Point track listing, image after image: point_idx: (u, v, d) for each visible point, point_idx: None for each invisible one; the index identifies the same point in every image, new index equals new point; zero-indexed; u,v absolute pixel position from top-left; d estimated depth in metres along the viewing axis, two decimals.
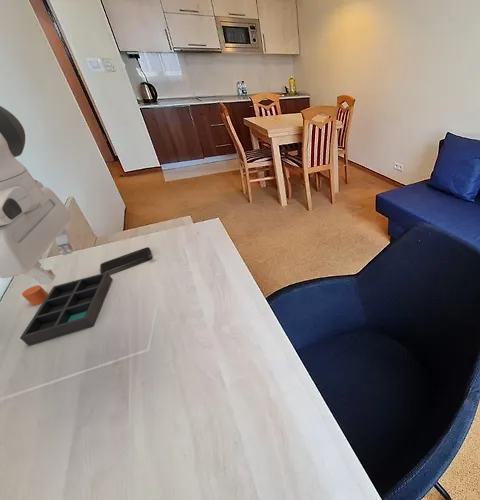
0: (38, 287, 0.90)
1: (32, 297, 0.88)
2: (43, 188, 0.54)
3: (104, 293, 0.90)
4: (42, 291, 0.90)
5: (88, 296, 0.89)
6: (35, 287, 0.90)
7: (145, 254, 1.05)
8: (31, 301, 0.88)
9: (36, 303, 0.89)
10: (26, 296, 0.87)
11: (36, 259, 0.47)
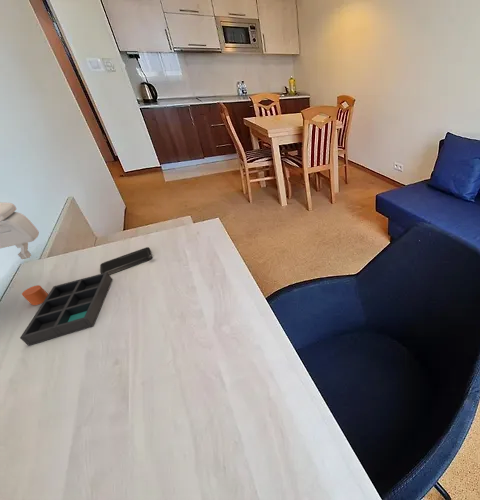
0: (38, 287, 0.90)
1: (32, 297, 0.88)
2: None
3: (104, 293, 0.90)
4: (42, 291, 0.90)
5: (88, 296, 0.89)
6: (35, 287, 0.90)
7: (145, 254, 1.05)
8: (31, 301, 0.88)
9: (36, 303, 0.89)
10: (26, 296, 0.87)
11: None
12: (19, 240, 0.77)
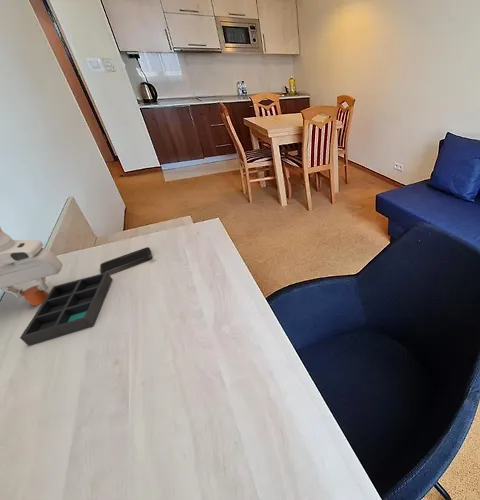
0: None
1: (32, 297, 0.88)
2: None
3: (104, 293, 0.90)
4: (42, 291, 0.90)
5: (88, 296, 0.89)
6: (35, 287, 0.90)
7: (145, 254, 1.05)
8: (31, 301, 0.88)
9: (36, 303, 0.89)
10: (26, 296, 0.87)
11: None
12: (46, 273, 0.86)
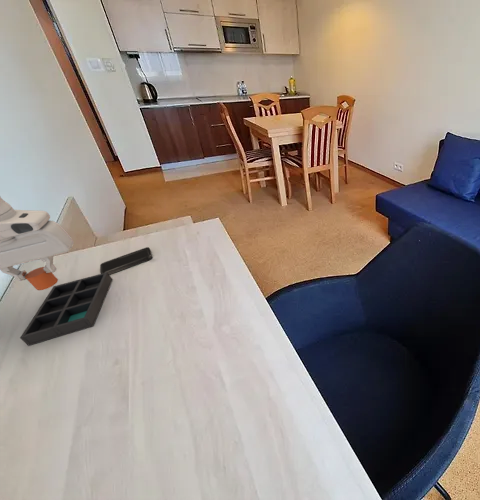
0: None
1: (38, 280, 0.73)
2: None
3: (104, 293, 0.90)
4: (49, 273, 0.75)
5: (88, 296, 0.89)
6: (41, 269, 0.75)
7: (145, 254, 1.05)
8: (36, 285, 0.73)
9: (42, 288, 0.74)
10: (30, 279, 0.72)
11: None
12: (54, 251, 0.71)
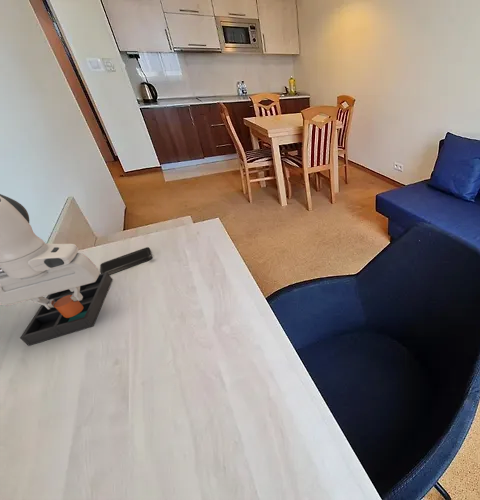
0: None
1: (66, 309, 0.77)
2: None
3: (104, 293, 0.90)
4: None
5: (88, 296, 0.89)
6: (68, 297, 0.79)
7: (145, 254, 1.05)
8: (64, 313, 0.77)
9: (69, 315, 0.78)
10: (59, 308, 0.76)
11: None
12: (82, 281, 0.75)
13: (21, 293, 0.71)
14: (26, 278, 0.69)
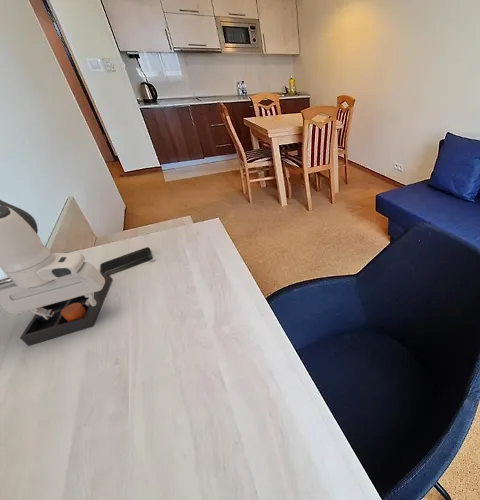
0: (78, 305, 0.80)
1: (72, 316, 0.78)
2: None
3: (104, 293, 0.90)
4: (82, 309, 0.80)
5: None
6: (74, 305, 0.80)
7: (145, 254, 1.05)
8: None
9: None
10: (66, 315, 0.78)
11: None
12: (88, 290, 0.77)
13: (29, 301, 0.73)
14: (34, 287, 0.71)
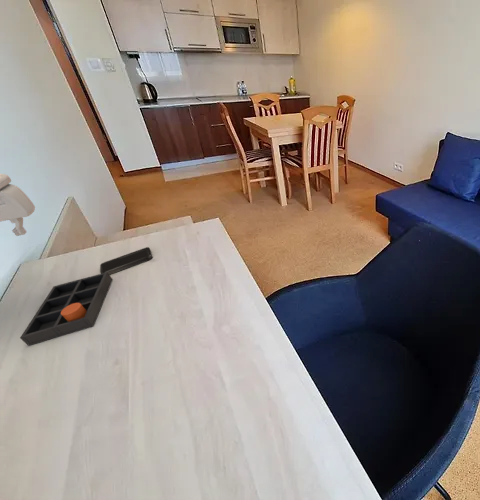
0: (78, 305, 0.80)
1: (72, 316, 0.78)
2: None
3: (104, 293, 0.90)
4: (82, 309, 0.80)
5: (88, 296, 0.89)
6: (74, 305, 0.80)
7: (145, 254, 1.05)
8: None
9: None
10: (66, 315, 0.78)
11: None
12: (14, 214, 0.72)
13: None
14: None
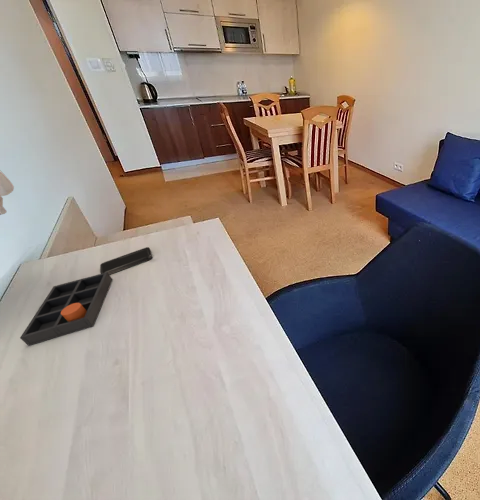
0: (78, 305, 0.80)
1: (72, 316, 0.78)
2: None
3: (104, 293, 0.90)
4: (82, 309, 0.80)
5: (88, 296, 0.89)
6: (74, 305, 0.80)
7: (145, 254, 1.05)
8: None
9: None
10: (66, 315, 0.78)
11: None
12: None
13: None
14: None
